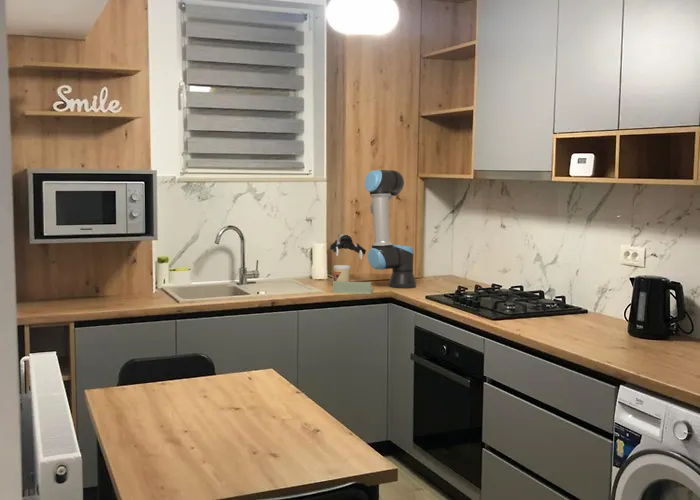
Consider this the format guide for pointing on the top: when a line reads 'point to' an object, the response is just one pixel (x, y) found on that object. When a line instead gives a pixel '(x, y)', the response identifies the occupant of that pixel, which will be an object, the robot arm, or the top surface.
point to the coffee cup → (341, 272)
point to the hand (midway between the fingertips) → (349, 255)
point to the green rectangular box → (352, 287)
